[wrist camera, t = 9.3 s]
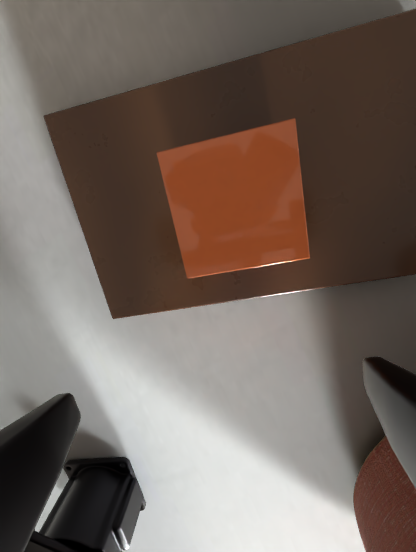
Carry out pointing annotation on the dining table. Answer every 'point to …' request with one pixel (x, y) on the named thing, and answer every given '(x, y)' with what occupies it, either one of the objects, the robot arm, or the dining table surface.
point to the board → (242, 116)
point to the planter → (385, 503)
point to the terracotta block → (237, 200)
